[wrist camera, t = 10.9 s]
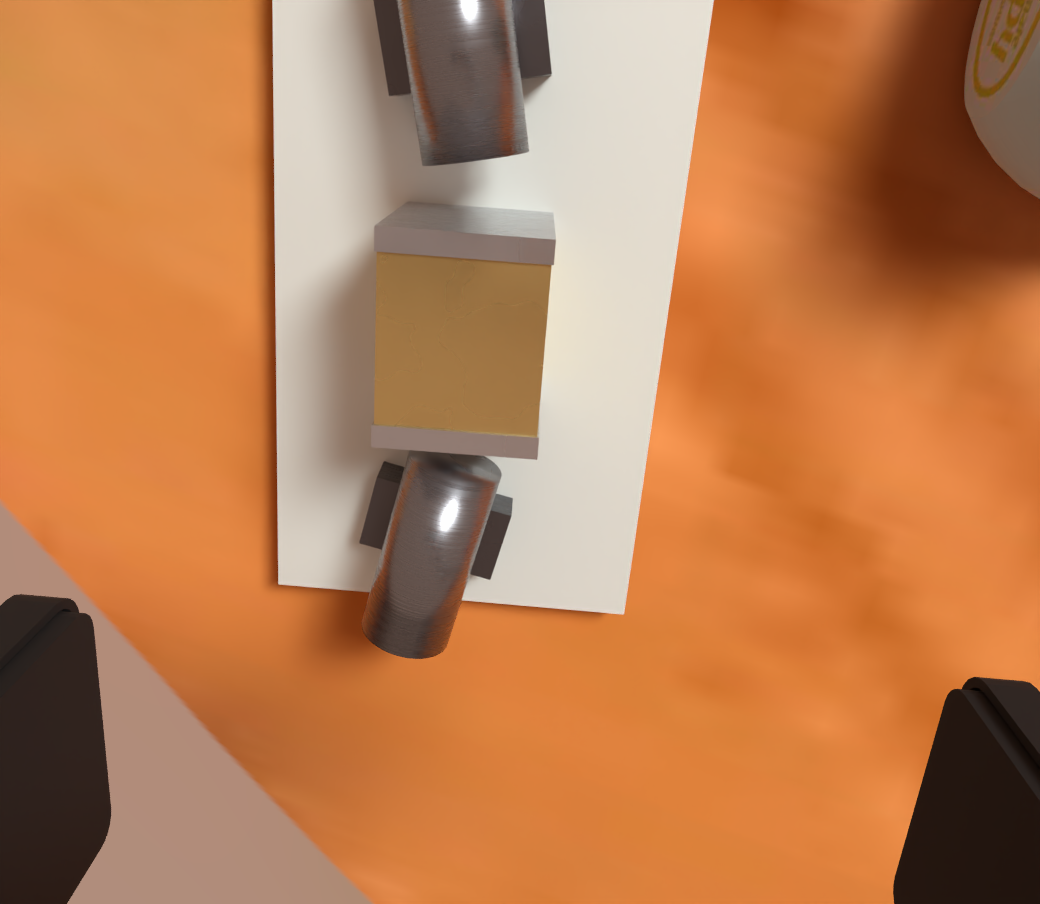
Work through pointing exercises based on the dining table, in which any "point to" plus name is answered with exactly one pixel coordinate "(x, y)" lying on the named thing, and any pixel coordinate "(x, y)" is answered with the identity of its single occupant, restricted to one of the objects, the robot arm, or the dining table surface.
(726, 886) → the dining table surface
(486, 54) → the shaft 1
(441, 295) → the tan box
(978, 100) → the air freshener
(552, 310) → the board
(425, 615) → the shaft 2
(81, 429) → the dining table surface
